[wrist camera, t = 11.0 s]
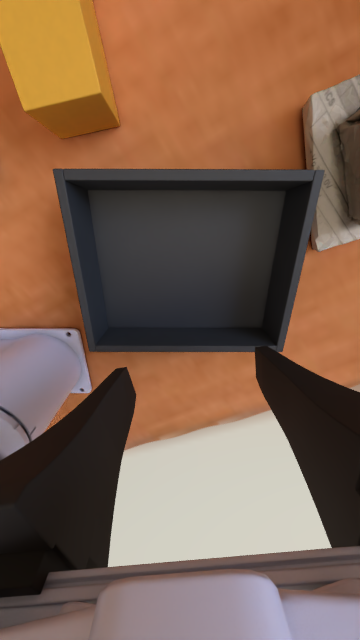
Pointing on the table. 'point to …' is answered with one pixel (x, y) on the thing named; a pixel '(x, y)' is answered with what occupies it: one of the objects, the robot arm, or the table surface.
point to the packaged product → (335, 162)
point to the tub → (187, 255)
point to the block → (58, 64)
